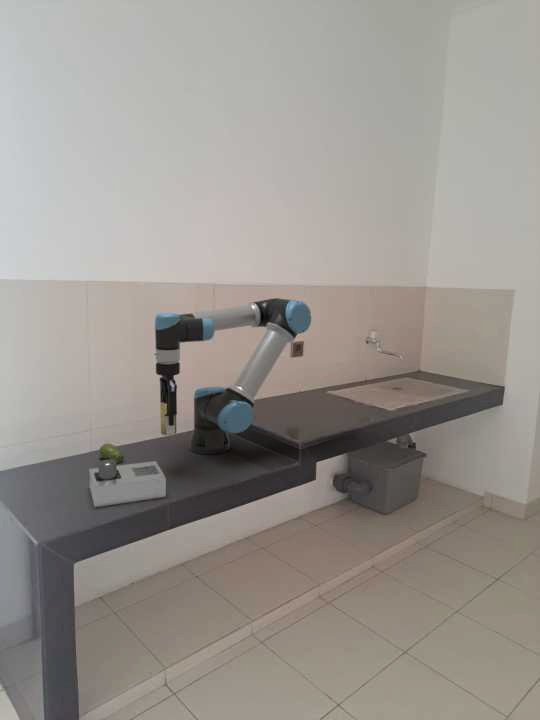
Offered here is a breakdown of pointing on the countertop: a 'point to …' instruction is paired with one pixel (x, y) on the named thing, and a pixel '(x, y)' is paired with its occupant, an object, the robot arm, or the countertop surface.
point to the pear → (111, 453)
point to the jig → (126, 482)
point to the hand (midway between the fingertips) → (168, 431)
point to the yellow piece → (164, 418)
